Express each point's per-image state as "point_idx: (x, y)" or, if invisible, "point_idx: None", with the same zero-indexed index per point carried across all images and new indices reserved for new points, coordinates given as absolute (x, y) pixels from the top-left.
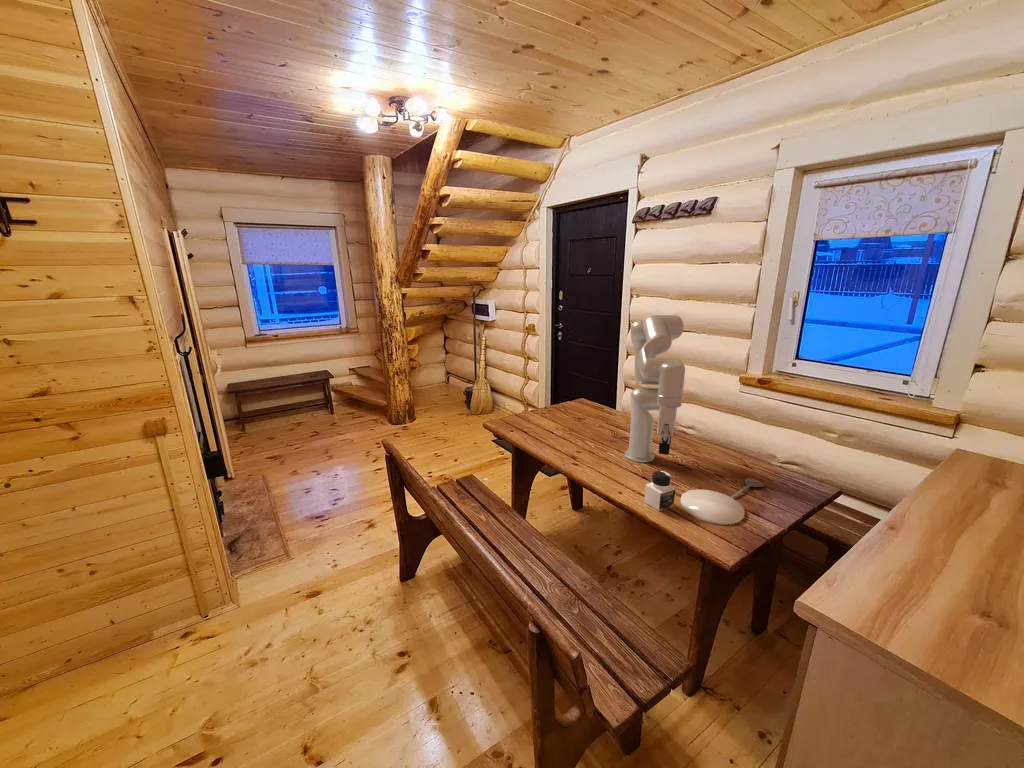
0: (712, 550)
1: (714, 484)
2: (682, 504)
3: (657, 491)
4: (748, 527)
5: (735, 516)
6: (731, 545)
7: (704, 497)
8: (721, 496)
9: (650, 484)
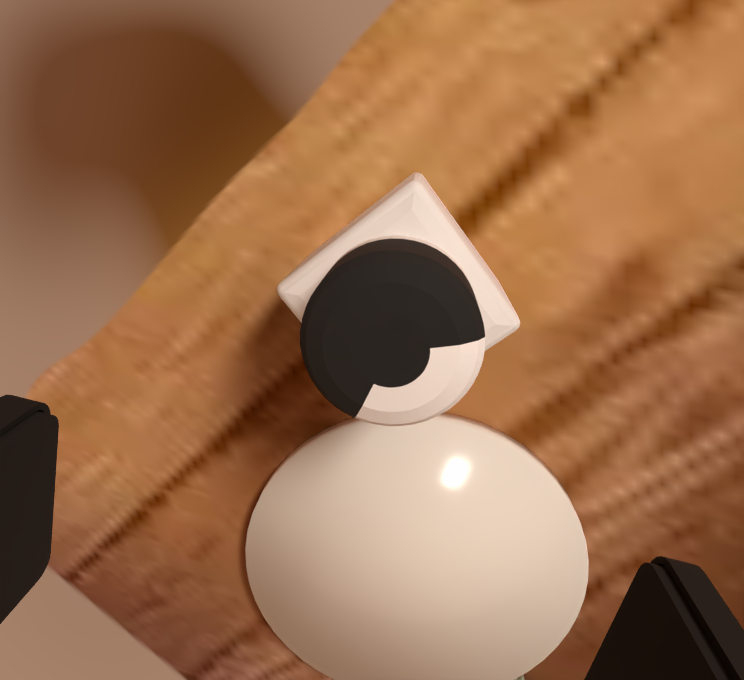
0: None
1: None
2: None
3: (303, 266)
4: (258, 653)
5: (309, 639)
6: (88, 540)
7: (488, 559)
8: (511, 645)
9: (405, 223)
